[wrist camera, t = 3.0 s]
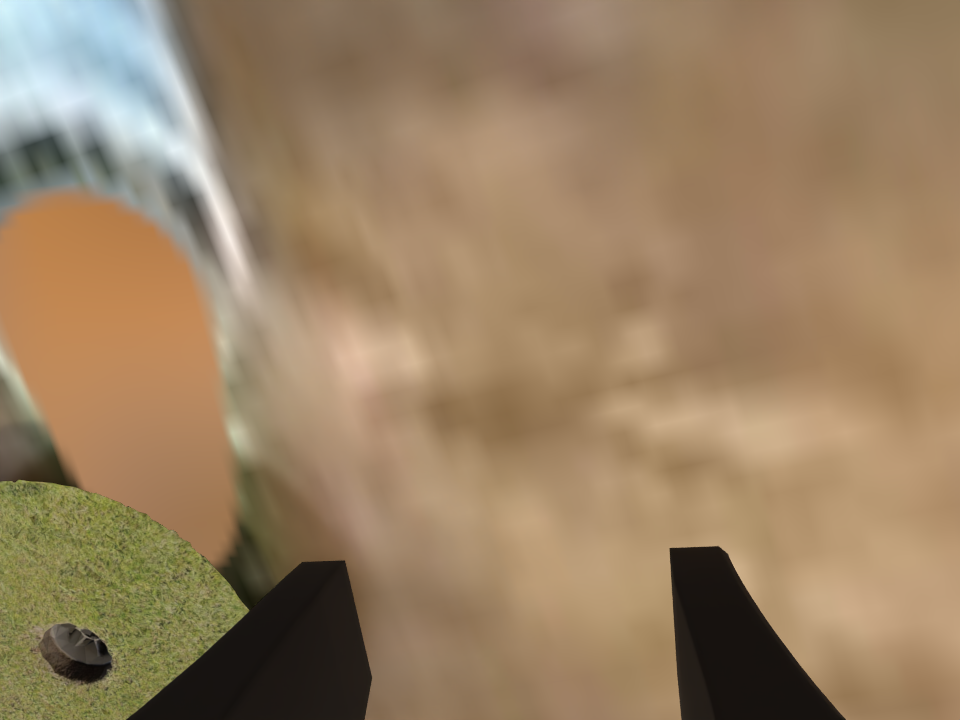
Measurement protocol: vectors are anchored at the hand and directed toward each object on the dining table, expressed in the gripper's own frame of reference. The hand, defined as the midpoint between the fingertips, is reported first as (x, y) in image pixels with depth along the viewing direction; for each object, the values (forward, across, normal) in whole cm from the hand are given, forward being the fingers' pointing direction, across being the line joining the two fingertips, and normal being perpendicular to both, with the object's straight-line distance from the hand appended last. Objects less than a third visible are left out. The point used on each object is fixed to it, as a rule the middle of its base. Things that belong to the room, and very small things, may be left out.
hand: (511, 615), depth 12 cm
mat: (+11, +14, +8) cm, 19 cm away
